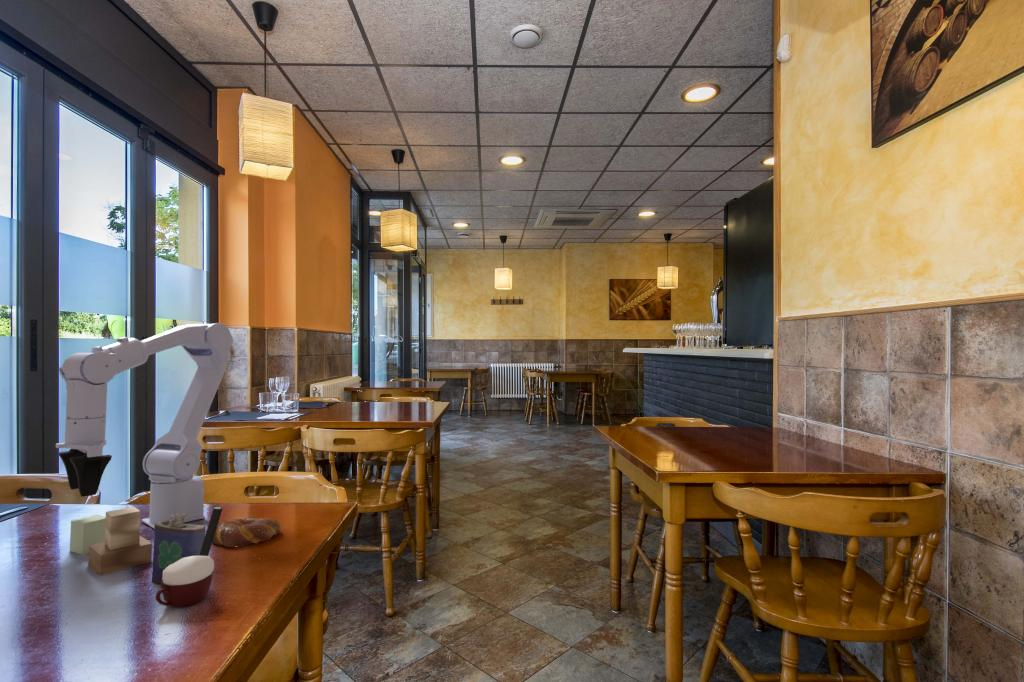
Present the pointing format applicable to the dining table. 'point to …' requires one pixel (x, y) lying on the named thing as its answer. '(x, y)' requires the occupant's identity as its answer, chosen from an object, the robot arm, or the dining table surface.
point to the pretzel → (245, 531)
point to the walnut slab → (119, 556)
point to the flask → (175, 543)
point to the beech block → (122, 528)
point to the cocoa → (190, 573)
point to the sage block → (87, 533)
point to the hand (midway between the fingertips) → (83, 491)
